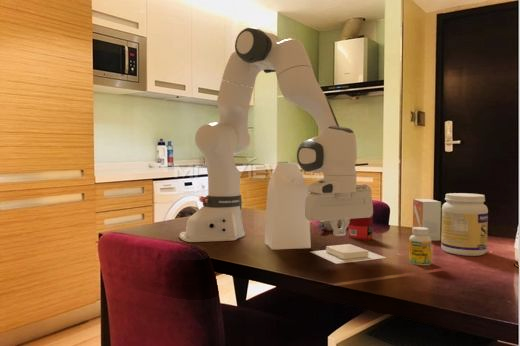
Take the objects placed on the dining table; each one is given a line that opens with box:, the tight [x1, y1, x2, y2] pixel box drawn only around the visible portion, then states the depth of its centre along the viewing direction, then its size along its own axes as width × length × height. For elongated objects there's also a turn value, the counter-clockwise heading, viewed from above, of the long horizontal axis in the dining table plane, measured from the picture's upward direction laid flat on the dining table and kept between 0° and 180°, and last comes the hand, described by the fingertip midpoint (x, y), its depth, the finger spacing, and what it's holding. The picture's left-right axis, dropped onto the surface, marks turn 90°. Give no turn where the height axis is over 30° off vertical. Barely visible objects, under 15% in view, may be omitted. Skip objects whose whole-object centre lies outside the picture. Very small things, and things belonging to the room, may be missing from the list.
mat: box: [310, 249, 387, 265], centre depth 118 cm, size 16×14×1 cm
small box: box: [412, 198, 442, 242], centre depth 143 cm, size 8×6×13 cm
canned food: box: [347, 213, 374, 242], centre depth 142 cm, size 8×8×11 cm
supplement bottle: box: [408, 226, 432, 266], centre depth 110 cm, size 5×5×10 cm
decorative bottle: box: [317, 219, 343, 231], centre depth 161 cm, size 26×8×7 cm, turn 149°
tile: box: [325, 243, 370, 259], centre depth 118 cm, size 2×9×8 cm
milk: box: [264, 162, 312, 250], centre depth 130 cm, size 12×12×26 cm
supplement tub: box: [440, 192, 489, 257], centre depth 123 cm, size 12×12×17 cm
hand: (339, 235), depth 117 cm, fingers closed
